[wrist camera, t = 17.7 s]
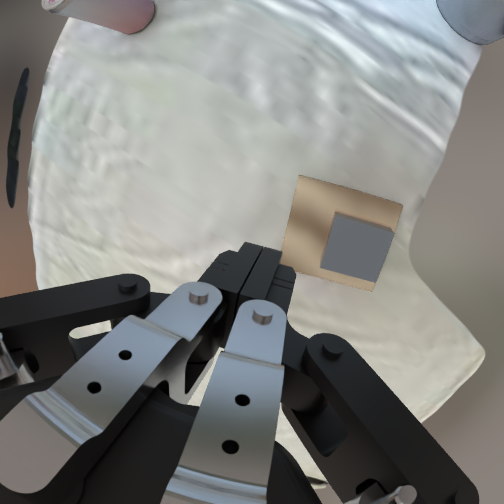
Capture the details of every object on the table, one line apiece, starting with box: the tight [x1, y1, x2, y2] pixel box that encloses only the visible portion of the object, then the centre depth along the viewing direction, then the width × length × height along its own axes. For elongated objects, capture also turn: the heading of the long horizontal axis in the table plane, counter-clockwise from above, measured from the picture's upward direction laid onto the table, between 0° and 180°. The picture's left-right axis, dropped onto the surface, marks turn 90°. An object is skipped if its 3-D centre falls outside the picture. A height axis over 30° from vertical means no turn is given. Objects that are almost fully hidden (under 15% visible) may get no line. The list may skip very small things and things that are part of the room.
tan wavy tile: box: [280, 175, 403, 292], centre depth 32 cm, size 11×12×1 cm
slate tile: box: [320, 210, 394, 283], centre depth 31 cm, size 6×2×7 cm
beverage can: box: [42, 0, 154, 34], centre depth 20 cm, size 6×6×15 cm
